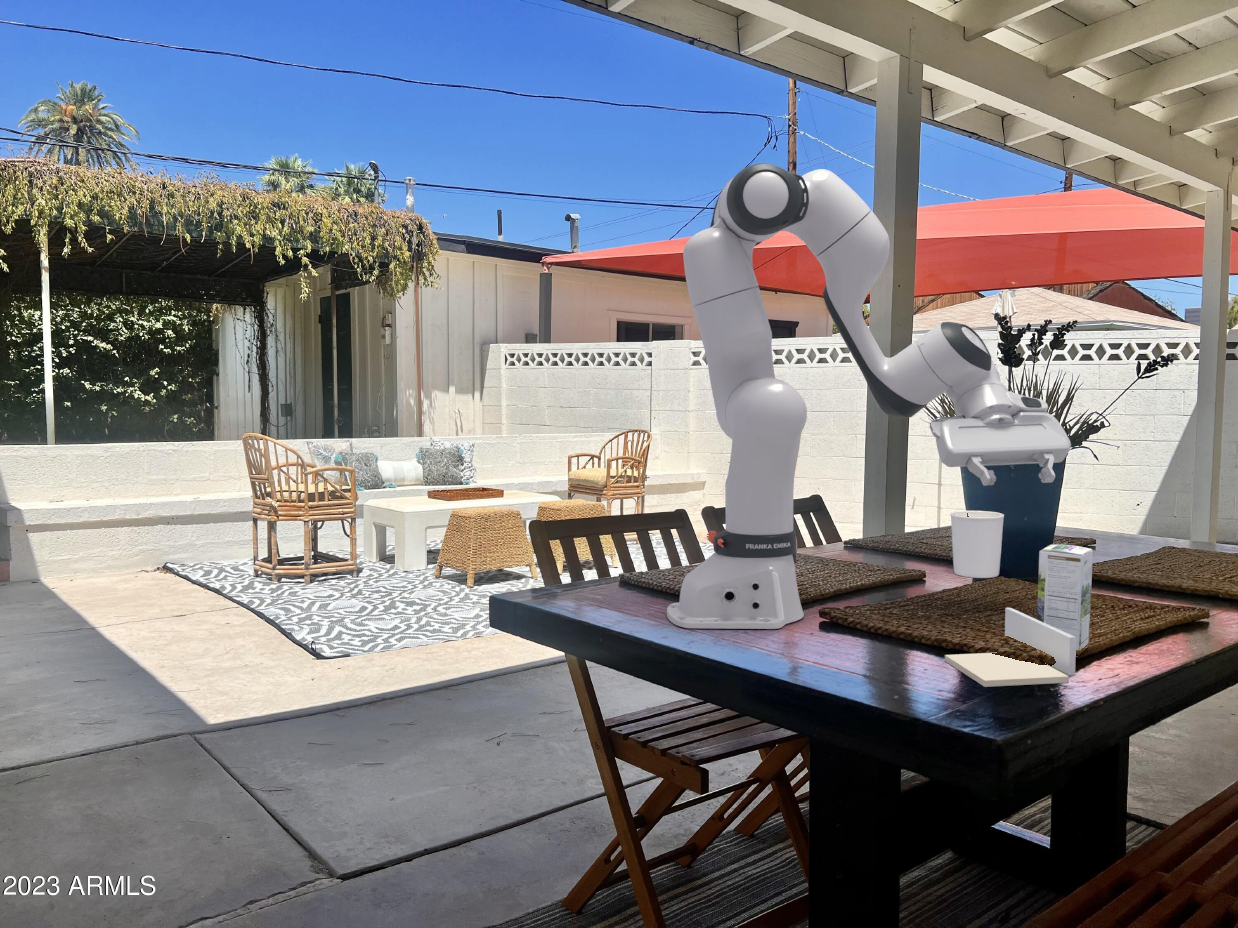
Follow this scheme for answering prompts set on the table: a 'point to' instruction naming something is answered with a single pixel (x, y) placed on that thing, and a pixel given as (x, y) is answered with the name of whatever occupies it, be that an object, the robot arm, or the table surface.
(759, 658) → the table surface
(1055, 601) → the syrup box
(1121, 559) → the table surface
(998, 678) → the sand mat
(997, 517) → the candle holder
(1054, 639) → the low wall
